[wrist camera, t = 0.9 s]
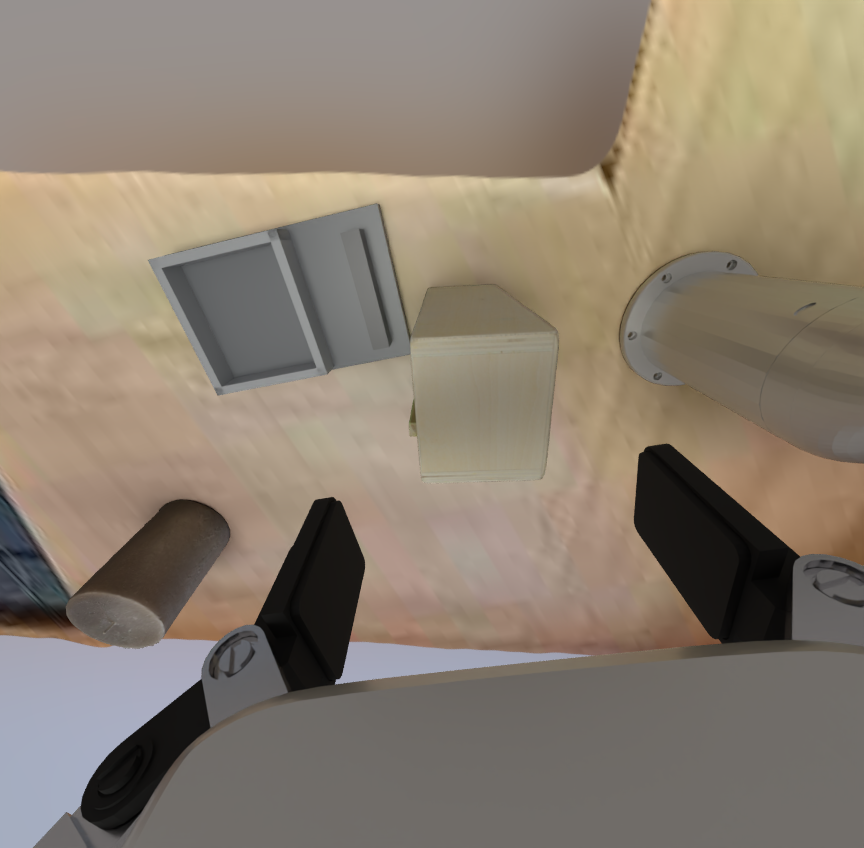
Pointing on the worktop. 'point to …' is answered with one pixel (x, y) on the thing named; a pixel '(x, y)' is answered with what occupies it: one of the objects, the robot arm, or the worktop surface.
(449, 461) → the beige tall block
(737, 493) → the worktop surface
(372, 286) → the tray
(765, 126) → the worktop surface
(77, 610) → the pillar candle
